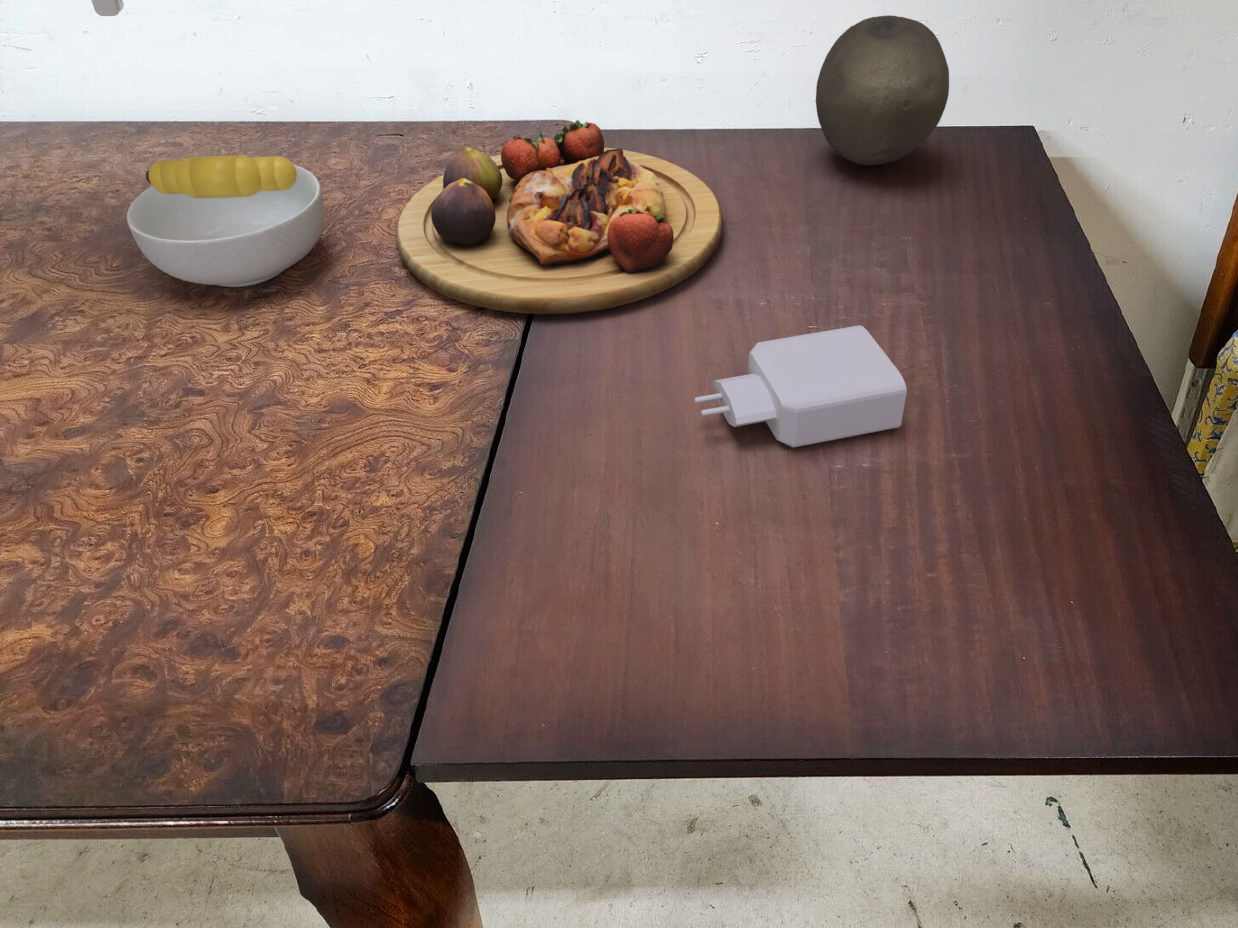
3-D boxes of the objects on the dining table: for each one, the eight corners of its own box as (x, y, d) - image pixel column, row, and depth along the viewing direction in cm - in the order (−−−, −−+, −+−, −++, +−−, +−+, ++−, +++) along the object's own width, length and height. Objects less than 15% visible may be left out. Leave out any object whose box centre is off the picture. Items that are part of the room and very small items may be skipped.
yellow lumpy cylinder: (140, 206, 97) (128, 166, 94) (156, 189, 100) (144, 150, 98) (293, 201, 97) (284, 161, 95) (303, 184, 101) (294, 145, 98)
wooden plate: (781, 273, 102) (787, 190, 96) (453, 356, 92) (438, 268, 86) (643, 144, 123) (641, 70, 118) (364, 200, 113) (347, 122, 108)
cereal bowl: (317, 211, 111) (301, 144, 107) (354, 287, 100) (337, 216, 95) (142, 246, 106) (117, 177, 101) (161, 330, 95) (133, 257, 90)
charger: (680, 398, 87) (853, 368, 91) (716, 468, 81) (900, 433, 84) (680, 349, 84) (859, 319, 87) (717, 418, 78) (909, 383, 81)
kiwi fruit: (785, 171, 118) (795, 27, 108) (845, 127, 127) (859, -11, 116) (905, 204, 112) (927, 55, 102) (958, 155, 121) (983, 13, 111)
